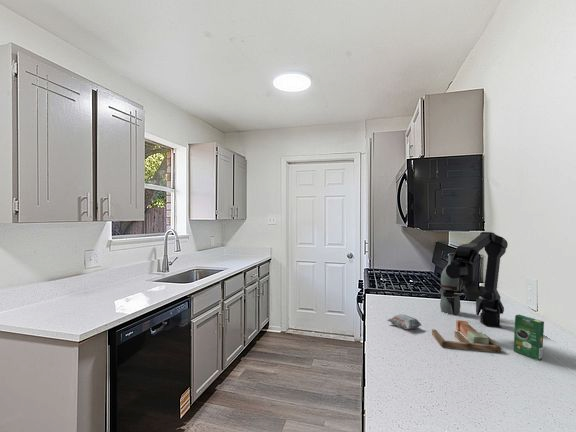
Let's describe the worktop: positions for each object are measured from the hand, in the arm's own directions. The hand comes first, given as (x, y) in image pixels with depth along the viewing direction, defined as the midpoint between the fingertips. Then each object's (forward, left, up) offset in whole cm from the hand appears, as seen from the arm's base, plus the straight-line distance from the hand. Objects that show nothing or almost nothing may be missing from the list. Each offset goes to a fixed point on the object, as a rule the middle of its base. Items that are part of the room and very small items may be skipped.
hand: (465, 314), depth 128 cm
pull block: (0, +6, -8) cm, 10 cm away
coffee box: (-14, +18, -8) cm, 24 cm away
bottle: (-4, -31, -8) cm, 32 cm away
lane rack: (+4, +12, -8) cm, 15 cm away
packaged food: (+24, -1, -8) cm, 25 cm away
